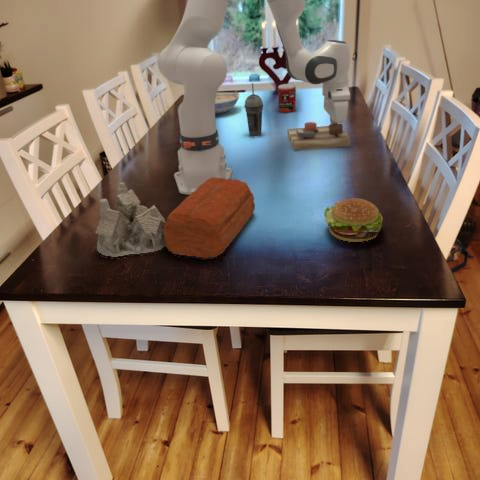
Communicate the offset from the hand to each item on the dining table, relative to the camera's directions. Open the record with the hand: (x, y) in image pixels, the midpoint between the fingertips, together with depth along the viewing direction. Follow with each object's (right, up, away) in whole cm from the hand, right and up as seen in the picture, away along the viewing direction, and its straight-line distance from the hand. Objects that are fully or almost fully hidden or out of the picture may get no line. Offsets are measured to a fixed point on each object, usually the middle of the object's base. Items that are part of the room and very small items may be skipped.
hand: (333, 128), depth 169 cm
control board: (-6, -4, +2) cm, 7 cm away
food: (-7, -39, -56) cm, 68 cm away
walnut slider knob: (0, -2, -2) cm, 3 cm away
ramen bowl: (-45, +18, +46) cm, 67 cm away
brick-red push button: (-8, 0, +4) cm, 9 cm away
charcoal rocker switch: (-11, -3, -3) cm, 11 cm away
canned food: (-13, +18, +41) cm, 46 cm away
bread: (-41, -39, -51) cm, 76 cm away
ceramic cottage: (-60, -42, -54) cm, 92 cm away
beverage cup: (-28, +1, +14) cm, 31 cm away
